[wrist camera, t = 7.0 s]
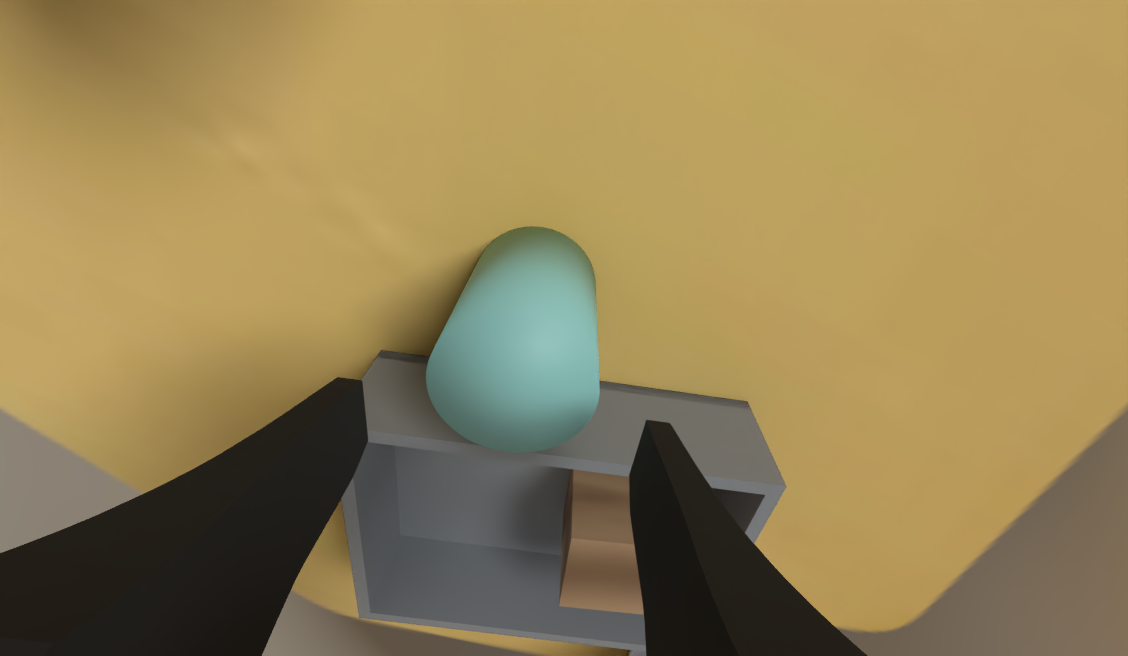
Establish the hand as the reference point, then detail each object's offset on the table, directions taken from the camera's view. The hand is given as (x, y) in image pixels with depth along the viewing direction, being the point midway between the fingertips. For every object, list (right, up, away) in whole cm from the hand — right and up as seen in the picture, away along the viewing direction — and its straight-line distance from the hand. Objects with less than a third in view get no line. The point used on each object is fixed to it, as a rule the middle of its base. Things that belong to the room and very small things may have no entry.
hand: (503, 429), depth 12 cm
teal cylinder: (0, +4, +8) cm, 9 cm away
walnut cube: (+4, -6, +13) cm, 14 cm away
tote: (+1, -5, +13) cm, 14 cm away
